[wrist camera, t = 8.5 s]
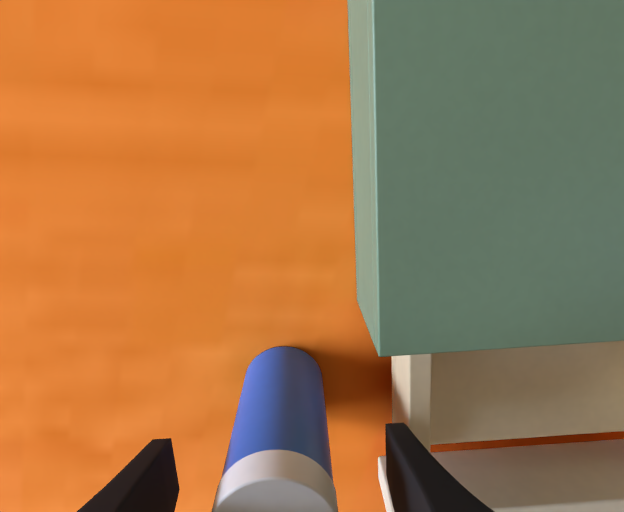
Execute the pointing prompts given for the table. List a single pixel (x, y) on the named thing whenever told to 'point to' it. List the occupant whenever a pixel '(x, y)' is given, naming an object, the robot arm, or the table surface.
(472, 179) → the cabinet
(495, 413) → the drawer
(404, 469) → the robot arm
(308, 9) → the table surface
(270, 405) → the medicine bottle
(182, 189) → the table surface
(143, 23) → the table surface
